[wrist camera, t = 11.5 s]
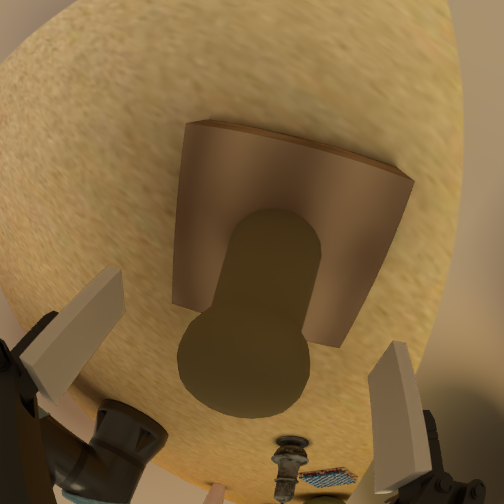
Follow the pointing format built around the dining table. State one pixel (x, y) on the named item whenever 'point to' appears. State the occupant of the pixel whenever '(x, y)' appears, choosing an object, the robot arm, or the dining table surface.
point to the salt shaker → (288, 465)
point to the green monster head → (324, 500)
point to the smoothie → (215, 494)
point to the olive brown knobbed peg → (255, 320)
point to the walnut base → (290, 199)
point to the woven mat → (328, 477)
